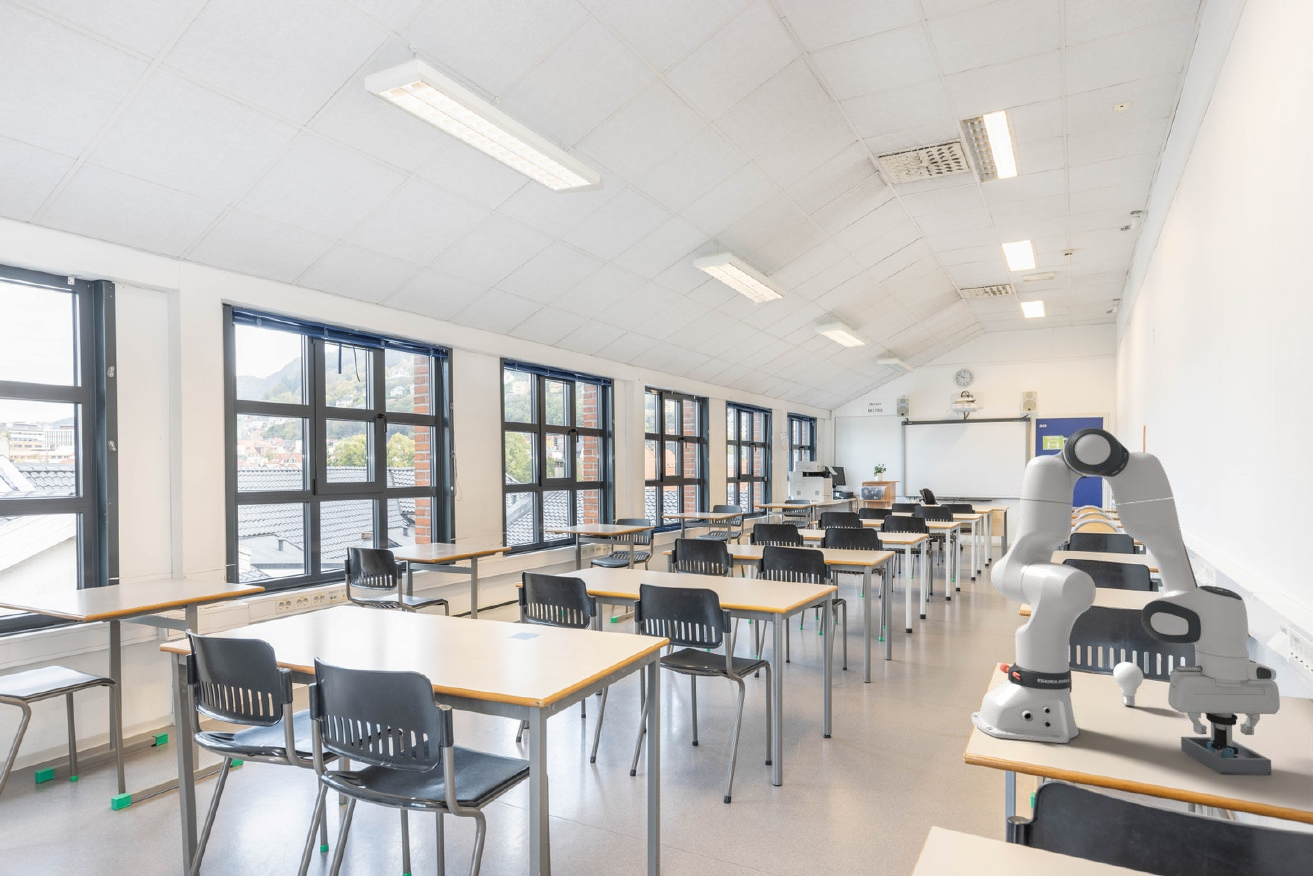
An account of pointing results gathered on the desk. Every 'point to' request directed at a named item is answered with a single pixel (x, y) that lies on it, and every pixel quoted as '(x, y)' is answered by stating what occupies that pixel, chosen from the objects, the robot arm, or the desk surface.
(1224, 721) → the push button
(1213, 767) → the tray
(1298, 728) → the desk surface
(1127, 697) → the lightbulb
